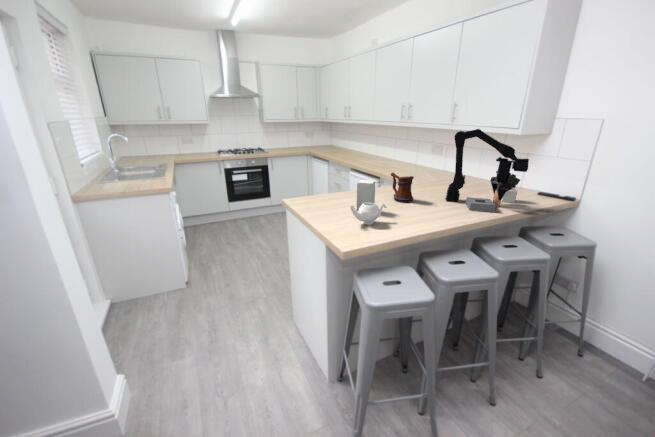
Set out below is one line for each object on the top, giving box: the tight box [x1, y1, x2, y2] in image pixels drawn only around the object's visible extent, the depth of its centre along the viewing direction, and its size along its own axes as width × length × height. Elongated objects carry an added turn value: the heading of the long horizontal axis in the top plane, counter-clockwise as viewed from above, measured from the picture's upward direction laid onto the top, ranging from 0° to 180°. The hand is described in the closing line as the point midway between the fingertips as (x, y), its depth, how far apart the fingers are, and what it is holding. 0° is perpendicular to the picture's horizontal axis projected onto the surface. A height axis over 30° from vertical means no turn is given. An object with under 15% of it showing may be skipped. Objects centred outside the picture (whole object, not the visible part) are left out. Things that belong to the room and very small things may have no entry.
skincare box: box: [356, 179, 376, 212], centre depth 150 cm, size 8×7×16 cm
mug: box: [390, 172, 415, 204], centre depth 172 cm, size 18×12×15 cm, turn 29°
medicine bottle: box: [501, 182, 518, 203], centre depth 172 cm, size 7×7×12 cm
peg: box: [492, 190, 502, 208], centre depth 162 cm, size 4×4×9 cm
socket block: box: [465, 196, 497, 213], centre depth 159 cm, size 12×12×4 cm
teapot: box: [349, 202, 388, 226], centre depth 134 cm, size 10×20×9 cm, turn 115°
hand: (497, 197), depth 162 cm, fingers open, 9 cm apart
